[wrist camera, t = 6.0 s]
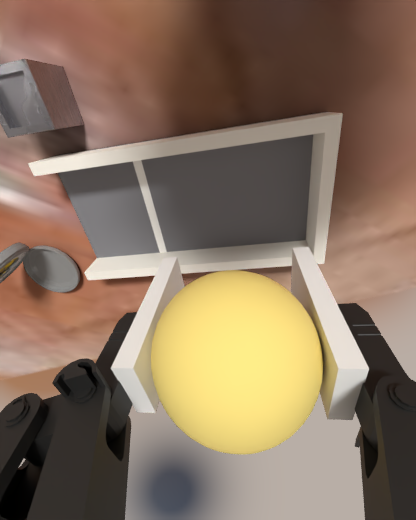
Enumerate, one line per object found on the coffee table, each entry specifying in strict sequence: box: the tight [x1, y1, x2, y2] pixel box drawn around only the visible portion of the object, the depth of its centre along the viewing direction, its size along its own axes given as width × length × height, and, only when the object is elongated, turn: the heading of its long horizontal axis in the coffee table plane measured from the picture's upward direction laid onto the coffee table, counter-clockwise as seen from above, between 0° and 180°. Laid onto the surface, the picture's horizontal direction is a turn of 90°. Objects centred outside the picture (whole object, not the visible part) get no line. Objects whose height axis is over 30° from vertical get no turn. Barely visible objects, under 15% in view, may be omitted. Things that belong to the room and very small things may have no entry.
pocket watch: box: [0, 243, 80, 292], centre depth 25 cm, size 8×8×10 cm
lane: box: [28, 112, 343, 280], centre depth 23 cm, size 24×12×4 cm, turn 99°
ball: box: [151, 270, 323, 454], centre depth 9 cm, size 6×6×6 cm
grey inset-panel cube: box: [0, 59, 84, 137], centre depth 19 cm, size 4×4×4 cm
